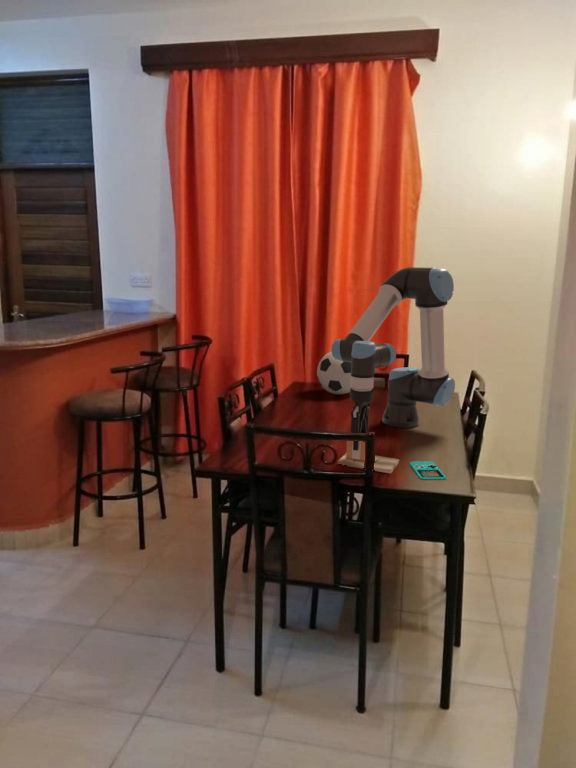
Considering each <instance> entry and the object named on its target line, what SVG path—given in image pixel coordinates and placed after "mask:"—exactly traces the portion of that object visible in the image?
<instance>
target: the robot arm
mask: <svg viewBox="0 0 576 768" xmlns="http://www.w3.org/2000/svg"><path fill="white" fill-rule="evenodd" d="M454 288H455V285H454V279H453V276H452V274H451V272H449V270H448V269H445V268H438V267H414V266H409V267H404V268H402V269H399V270H398V271H397V270H396V271H395V272H393V274H391V275H389V277H387V278H386V279H385V281H384V282H382V284H381V285H380V287H379V288H378V290H377V291H378V294H377V295H376V296H375V297H374V299H373V300H372V302H371V303H370V304H369V305H368V307H367V308H366V310H365V311H364V313H363V314H362V315H361V316H360V318H359V319H358V320H357V322H356V323H355V324H354V326H353V327H352V328H351V330H350V331H349V333H348V334H347V335H346V337H345V338H338V339H335V340H334V341H333V343H332V345H331V348H330V349H331V351H330V352H332V356H333V357H334V358H335V359H337V360H340V361H344V362H345V361H346V362H351V377H350V378H349V380H351V389H350V392H349V400H350V401H352V402H354V406H353V408H352V411H351V413H350V416H351V417H350V418H351V420H350V423H351V424H350V433H369V434H370V432H369V427H370V426H369V421H370V407H371V403H370V402H373V399H374V390H373V389H374V383H375V369H377V368H378V369H379V368H383V367H387V366H389V365H391V364H393V363H394V362H395V360H396V358H397V351H396V349H395V347H394V346H393V345H392V344H391V343H375V342H374V341H371V339H372V338H373V336H374V335H375V333H376V332H377V331H378V330H379V328H380V327H381V326H382V324H383V323H384V321H385V320H386V319H387V317H388V316H389V314H390V313H391V311H392V310H393V309H394V308H395V306H398V305H400V304H401V302H402V301H403V300H406V299H411V300H414V301H415V307H416V308H417V309H418V310H419V325H420V347H421V348H420V349H421V353H420V354H421V368H420V369H419V368H418V367H416V366H415V367H413V366H409V367H397V368H393V369H391V370H390V371H389V376H388V391H387V393H388V394H387V404H386V407H385V410H384V412H383V414H382V421H381V422H382V423H383V424H384V425H386V426H389V427H394V428H402V429H403V428H404V429H405V428H407V429H410V428H414V427H415V428H416V427H418V426H419V425H420V416H419V411H418V407H417V403H423V404H427V405H432V406H439V407H444V406H446V405H447V404H449V402H450V401H451V399H452V398H453V395H454V392H455V389H456V388H455V387H456V381H455V379H454V378H453V377H451V376H450V371H449V369H448V368H446V367H445V365H446V364H445V363H446V362H445V329H444V328H445V325H444V323H445V322H444V321H445V320H444V319H445V318H444V316H445V315H444V308H446V306H448V302H449V301H451V299H452V297H453V295H454V293H453V292H454ZM360 454H361V441H353V442H352V459H358V460H360Z"/></svg>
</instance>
